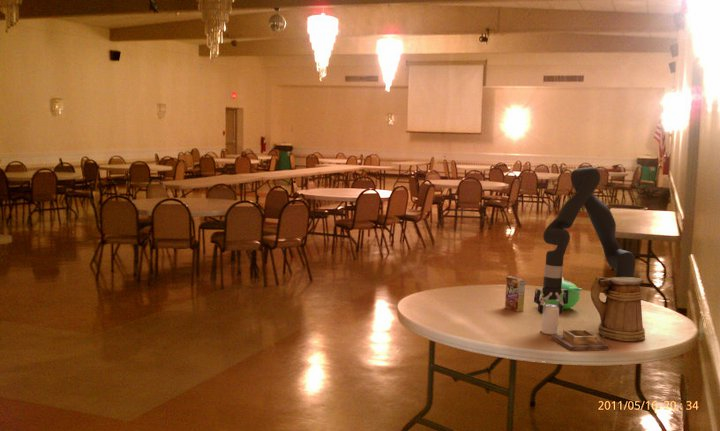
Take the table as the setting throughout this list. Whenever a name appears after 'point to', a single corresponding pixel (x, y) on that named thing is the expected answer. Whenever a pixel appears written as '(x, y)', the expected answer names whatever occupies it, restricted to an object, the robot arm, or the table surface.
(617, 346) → the table surface
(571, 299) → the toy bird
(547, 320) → the can
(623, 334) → the tankard
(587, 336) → the socket stand
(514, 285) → the candy box
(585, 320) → the table surface
